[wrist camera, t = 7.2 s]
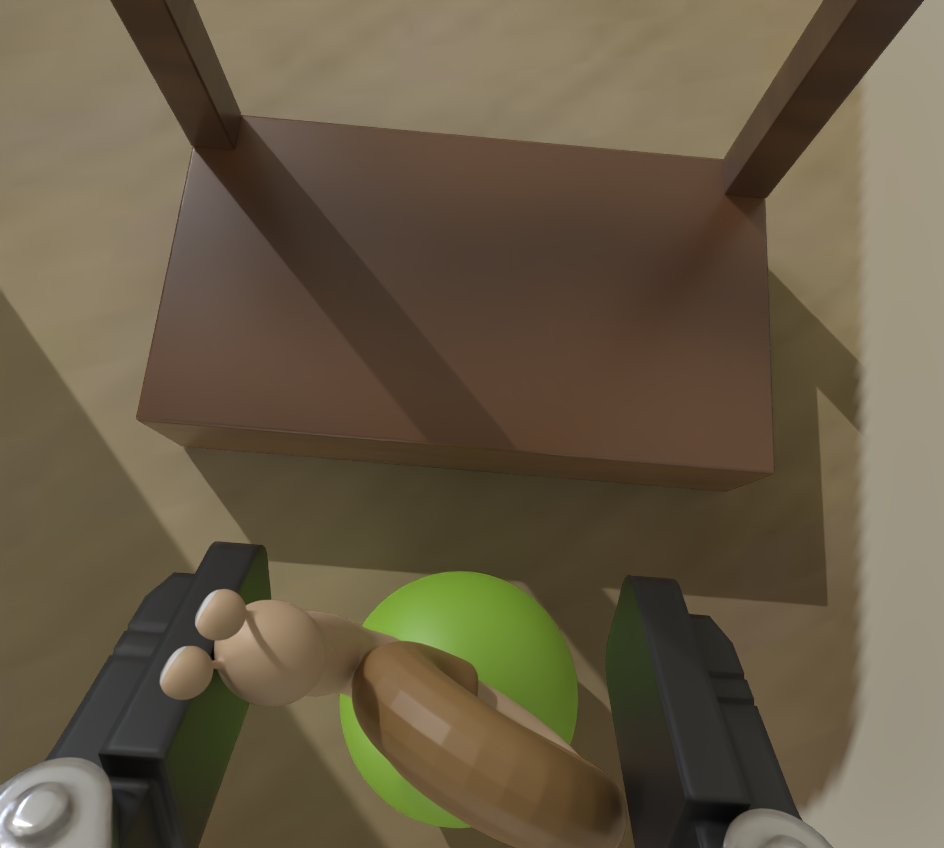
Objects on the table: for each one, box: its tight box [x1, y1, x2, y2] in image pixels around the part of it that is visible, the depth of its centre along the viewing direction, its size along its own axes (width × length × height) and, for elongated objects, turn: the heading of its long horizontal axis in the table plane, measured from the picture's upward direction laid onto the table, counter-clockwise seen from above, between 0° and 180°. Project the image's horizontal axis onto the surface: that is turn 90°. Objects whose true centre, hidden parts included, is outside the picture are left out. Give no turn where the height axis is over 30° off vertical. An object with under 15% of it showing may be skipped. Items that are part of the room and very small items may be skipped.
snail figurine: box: [160, 571, 627, 848], centre depth 13 cm, size 5×6×12 cm
